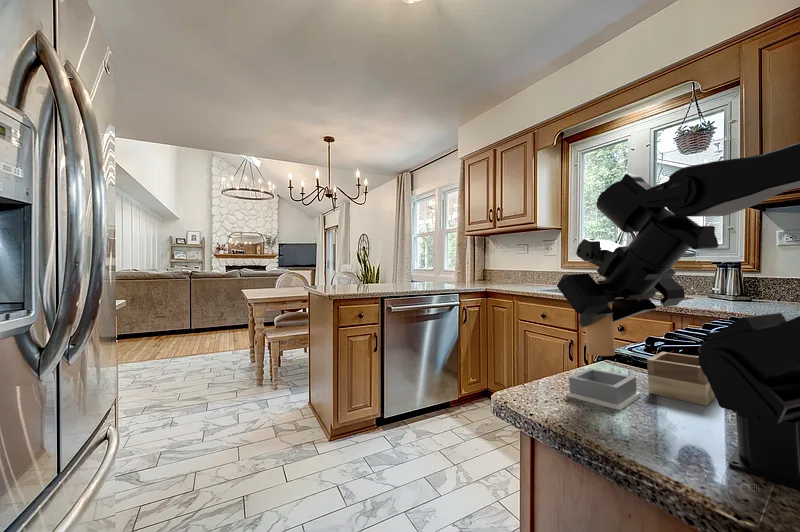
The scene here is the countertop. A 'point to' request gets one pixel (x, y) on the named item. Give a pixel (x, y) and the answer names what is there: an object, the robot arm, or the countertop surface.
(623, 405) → the grey bin on base
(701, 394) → the open tan box
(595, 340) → the bottle
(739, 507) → the countertop surface
